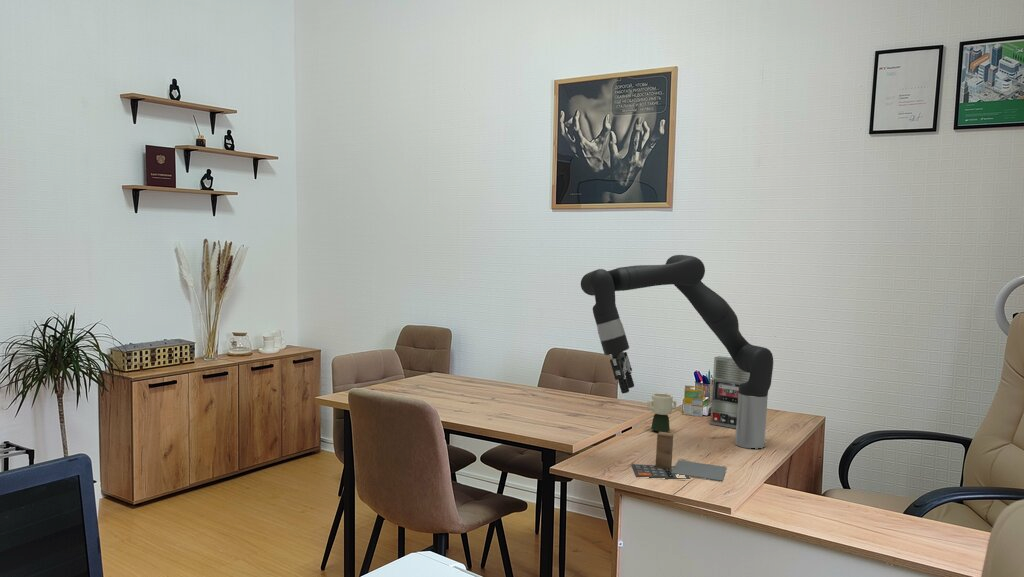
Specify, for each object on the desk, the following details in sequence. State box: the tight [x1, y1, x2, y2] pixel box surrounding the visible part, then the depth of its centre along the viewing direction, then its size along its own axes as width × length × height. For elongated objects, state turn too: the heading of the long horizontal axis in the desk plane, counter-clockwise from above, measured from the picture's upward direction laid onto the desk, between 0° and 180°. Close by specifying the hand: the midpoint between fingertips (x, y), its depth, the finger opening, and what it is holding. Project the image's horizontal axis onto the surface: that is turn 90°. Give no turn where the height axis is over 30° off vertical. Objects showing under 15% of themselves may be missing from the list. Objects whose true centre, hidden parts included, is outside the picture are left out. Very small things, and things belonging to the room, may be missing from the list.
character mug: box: [646, 392, 677, 433], centre depth 254 cm, size 11×7×13 cm, turn 103°
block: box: [655, 432, 674, 469], centre depth 211 cm, size 4×4×10 cm
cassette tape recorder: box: [708, 355, 750, 429], centre depth 266 cm, size 14×6×25 cm, turn 55°
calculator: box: [631, 463, 691, 480], centre depth 206 cm, size 12×1×15 cm
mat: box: [671, 459, 727, 482], centre depth 209 cm, size 14×14×1 cm
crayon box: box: [682, 385, 705, 417], centre depth 283 cm, size 7×3×12 cm, turn 77°
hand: (628, 390), depth 211 cm, fingers open, 8 cm apart
